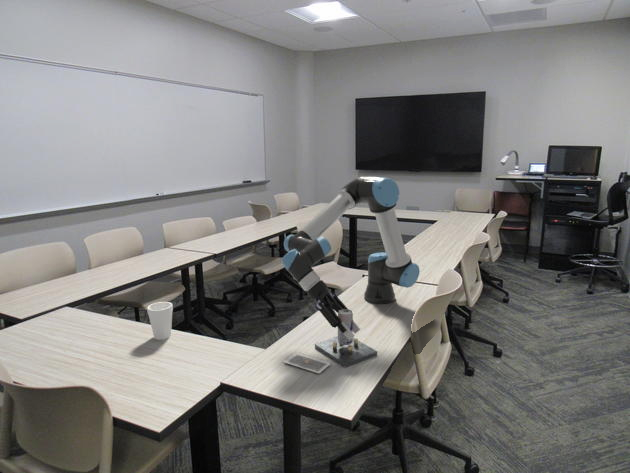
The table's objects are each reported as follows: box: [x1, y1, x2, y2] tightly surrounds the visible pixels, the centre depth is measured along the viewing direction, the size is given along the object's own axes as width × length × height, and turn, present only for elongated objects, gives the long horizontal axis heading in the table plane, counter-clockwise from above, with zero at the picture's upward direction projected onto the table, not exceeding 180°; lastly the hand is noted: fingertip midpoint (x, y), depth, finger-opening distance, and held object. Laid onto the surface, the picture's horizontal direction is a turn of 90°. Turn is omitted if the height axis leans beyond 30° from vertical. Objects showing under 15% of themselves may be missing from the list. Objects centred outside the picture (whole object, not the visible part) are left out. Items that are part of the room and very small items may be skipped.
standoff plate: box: [314, 335, 378, 368], centre depth 154 cm, size 15×18×4 cm
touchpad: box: [282, 352, 332, 374], centre depth 145 cm, size 8×15×2 cm, turn 58°
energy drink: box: [337, 308, 354, 345], centre depth 152 cm, size 5×5×12 cm
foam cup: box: [146, 301, 174, 341], centre depth 167 cm, size 10×9×13 cm
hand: (354, 334), depth 151 cm, fingers closed on energy drink, 5 cm apart
